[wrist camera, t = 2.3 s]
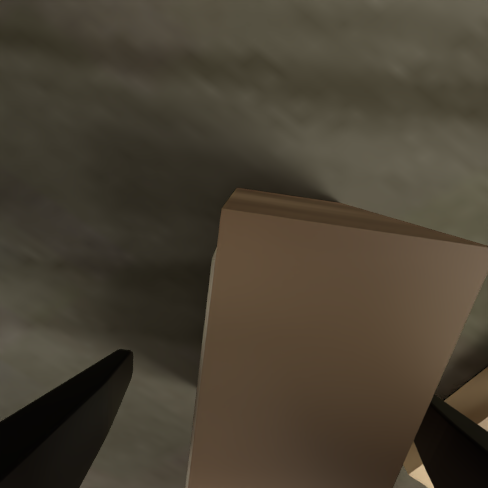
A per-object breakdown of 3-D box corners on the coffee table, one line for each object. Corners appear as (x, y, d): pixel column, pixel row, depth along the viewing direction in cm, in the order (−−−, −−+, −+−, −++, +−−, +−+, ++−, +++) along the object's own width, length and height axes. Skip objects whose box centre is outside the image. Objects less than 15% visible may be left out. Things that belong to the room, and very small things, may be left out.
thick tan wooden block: (290, 401, 14) (333, 620, 7) (207, 390, 14) (168, 605, 7) (339, 202, 11) (498, 249, 4) (233, 186, 11) (212, 206, 4)
